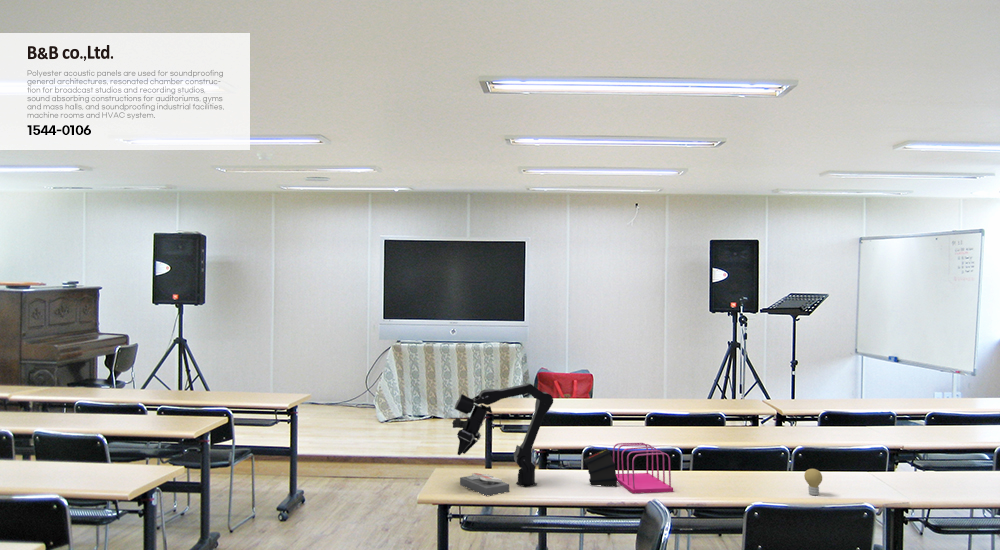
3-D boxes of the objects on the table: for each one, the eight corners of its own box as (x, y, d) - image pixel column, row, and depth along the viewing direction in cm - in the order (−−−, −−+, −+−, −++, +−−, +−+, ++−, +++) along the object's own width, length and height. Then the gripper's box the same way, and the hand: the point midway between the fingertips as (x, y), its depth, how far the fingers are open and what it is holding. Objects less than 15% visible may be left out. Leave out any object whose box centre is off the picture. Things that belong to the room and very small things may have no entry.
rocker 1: (487, 476, 258) (488, 474, 259) (493, 479, 255) (493, 476, 255) (471, 475, 254) (472, 472, 254) (477, 477, 251) (477, 474, 251)
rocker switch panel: (482, 481, 265) (482, 471, 265) (509, 491, 248) (509, 482, 249) (460, 484, 259) (460, 475, 259) (486, 496, 242) (486, 486, 242)
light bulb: (802, 494, 246) (801, 468, 247) (808, 491, 251) (807, 466, 251) (819, 497, 242) (818, 471, 242) (825, 494, 246) (824, 469, 247)
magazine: (624, 483, 256) (608, 449, 258) (595, 496, 257) (579, 462, 258) (623, 480, 260) (607, 447, 261) (595, 493, 260) (579, 460, 262)
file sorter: (632, 494, 246) (632, 453, 247) (610, 478, 271) (610, 441, 272) (673, 492, 249) (673, 452, 250) (648, 476, 274) (648, 440, 275)
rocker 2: (495, 480, 253) (496, 477, 254) (501, 482, 250) (502, 479, 250) (479, 478, 249) (480, 475, 249) (485, 480, 246) (485, 477, 246)
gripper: (464, 410, 269) (449, 444, 267) (454, 410, 251) (438, 446, 249) (487, 421, 266) (472, 456, 264) (478, 422, 248) (462, 459, 246)
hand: (461, 454), depth 256 cm, fingers open, 9 cm apart
